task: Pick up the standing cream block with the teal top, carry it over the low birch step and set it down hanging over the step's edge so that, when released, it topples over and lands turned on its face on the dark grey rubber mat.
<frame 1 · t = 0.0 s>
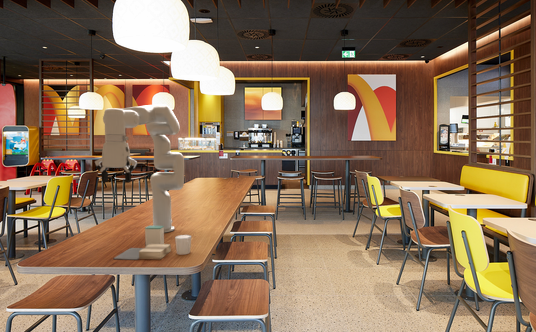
hand: (116, 181, 136), 31 cm above the table, tool pointing down, fingers open, 9 cm apart
grey mat: (133, 254, 143), on the table
pale pink cylinder: (183, 253, 145), on the table
cream block: (154, 246, 154), on the table
birch step: (155, 254, 142), on the table
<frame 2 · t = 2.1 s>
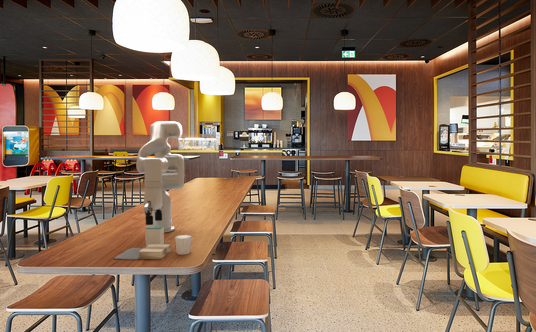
hand: (154, 222, 153), 11 cm above the table, tool pointing down, fingers open, 9 cm apart
nothing on the table moved.
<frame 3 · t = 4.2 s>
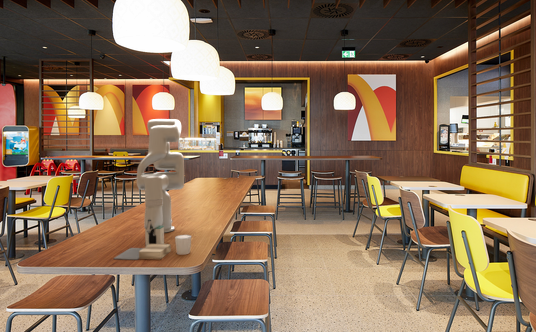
hand: (154, 242, 154), 2 cm above the table, tool pointing down, fingers closed on cream block, 4 cm apart
cream block: (154, 246, 154), on the table, touching gripper
everything else where it was.
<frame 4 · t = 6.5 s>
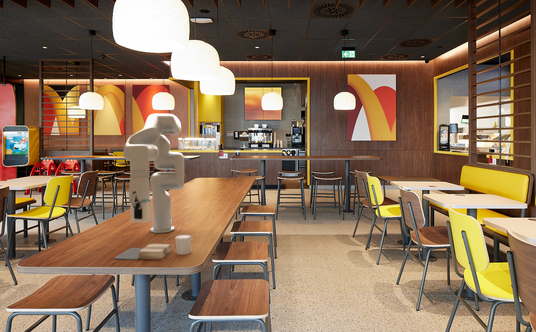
hand: (140, 217, 141), 16 cm above the table, tool pointing down, fingers closed on cream block, 4 cm apart
cream block: (141, 221, 142), point 14 cm above the table, touching gripper
everything else where it was.
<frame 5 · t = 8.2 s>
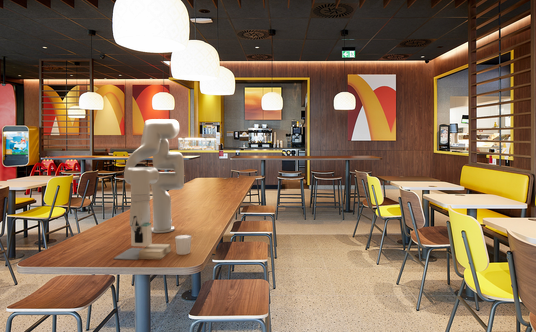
hand: (141, 240, 142), 6 cm above the table, tool pointing down, fingers closed on cream block, 4 cm apart
cream block: (141, 244, 142), point 4 cm above the table, touching gripper
everything else where it was.
when the fingers open (6 cm above the table, at t = 8.9 s): cream block moves 3 cm and tips over, resting on grey mat.
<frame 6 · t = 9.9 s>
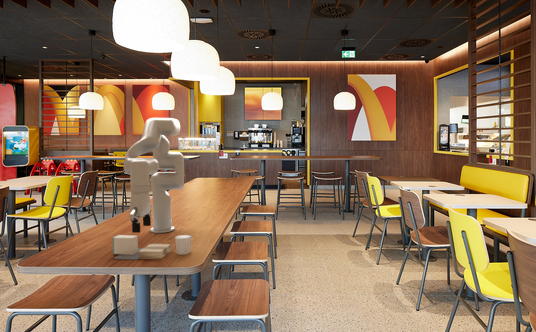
hand: (141, 228, 143), 11 cm above the table, tool pointing down, fingers open, 9 cm apart
cream block: (135, 244, 143), point 4 cm above the table, tilted 90°, touching grey mat
everything else where it was.
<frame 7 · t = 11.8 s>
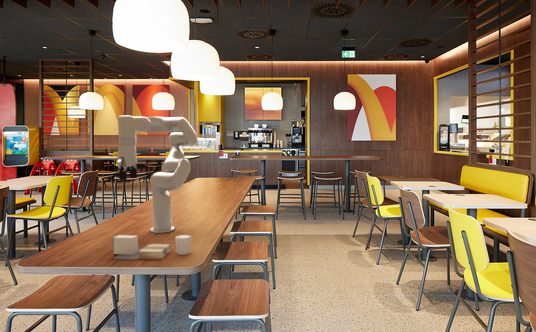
hand: (128, 179, 158), 30 cm above the table, tool pointing down, fingers open, 9 cm apart
nothing on the table moved.
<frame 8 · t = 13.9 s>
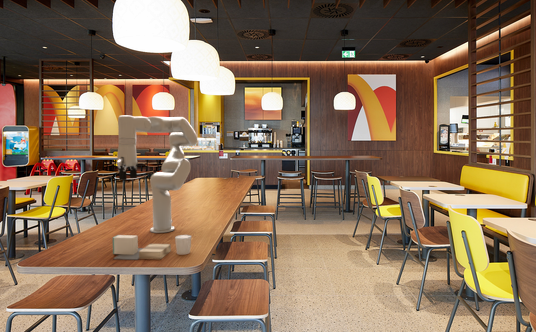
hand: (128, 179, 158), 30 cm above the table, tool pointing down, fingers open, 9 cm apart
nothing on the table moved.
at the end: cream block tilted 90°; cream block inside the target area (3.1 cm from its centre), point 3.9 cm above the table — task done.
